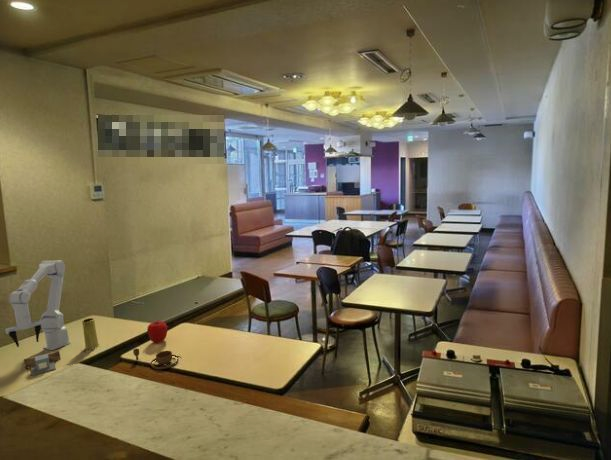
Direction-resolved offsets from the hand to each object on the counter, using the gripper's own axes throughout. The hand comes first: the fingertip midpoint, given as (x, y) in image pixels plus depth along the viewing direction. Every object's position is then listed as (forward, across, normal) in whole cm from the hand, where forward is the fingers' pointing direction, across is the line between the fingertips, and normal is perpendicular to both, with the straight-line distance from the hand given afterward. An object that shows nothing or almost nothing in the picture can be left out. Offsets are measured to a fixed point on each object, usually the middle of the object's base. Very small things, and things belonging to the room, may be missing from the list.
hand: (27, 343), depth 195 cm
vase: (+10, +26, -1) cm, 28 cm away
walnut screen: (+9, +5, -5) cm, 12 cm away
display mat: (+9, +4, -12) cm, 16 cm away
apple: (+10, +54, -18) cm, 58 cm away
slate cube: (+9, +4, -12) cm, 15 cm away
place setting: (+10, +49, -39) cm, 64 cm away
